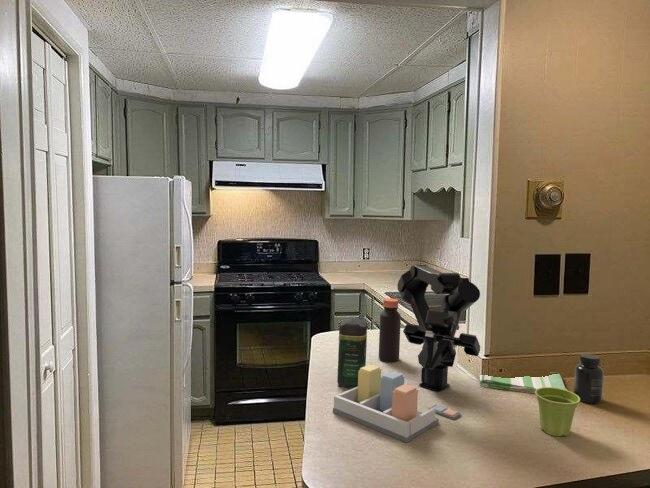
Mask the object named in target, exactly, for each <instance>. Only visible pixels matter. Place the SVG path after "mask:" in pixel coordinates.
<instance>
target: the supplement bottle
mask: <svg viewBox="0 0 650 488" xmlns="http://www.w3.org/2000/svg"><path fill="white" fill-rule="evenodd" d="M600 365H601V357H600V356H599V355H595V354H591V353H590V354H589V353H582V354H580V355H579V363H578V364H576V366H575V368H574V382H573V384H574V385H573V393H575V394H576V395H578V396H579V397H580V402H581V403H583V404H584V403H585V404H590V405H599V404H601V402H603V391H604V375H605V374H604V373H605V372H604V370H603V368H602V367H600Z"/></svg>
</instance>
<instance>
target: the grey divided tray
mask: <svg viewBox="0 0 650 488" xmlns="http://www.w3.org/2000/svg"><path fill="white" fill-rule="evenodd" d="M332 413H334V414H337V415H339V416H342V417H344V418H345V419H349V420H351V421H354V422H356V423H359V424H361V425H363V426H365V427H368V428H370V429H373V430H375V431H376V432H377V431H378V432H380V433H383V434H385V435H387V436H389V437H392V438H395V439H397V440H399V441H402V442H404V443H408V442H410V441H412V440H413V439H415V438H416V437H418V436H420V435H421V434H423V433H425V432H426V431H429V430H430V429H431V428H433V427H434V426H437V424H439V423H440V420H439V418H437V417H436V408H431V409H429V408H428V409H427V410H425V411H424V412H420V411H418V410H417V417H415V418H413V419H411V420H409V421H408V422H406V421H403V420H401V419H398V418H395V417H393V416H392V407H391V408H389V409H387V410H385V411H382V410H380V393H379V394H377V395H375V396H373V397H371V398H368V399H366V400H364V401H362V402H358V386H357V387H355V388H349V389H348V390H346V391H343V392H341V393H339V394H337V395H333V408H332ZM429 428H430V429H429Z"/></svg>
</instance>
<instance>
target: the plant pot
mask: <svg viewBox="0 0 650 488" xmlns="http://www.w3.org/2000/svg"><path fill="white" fill-rule="evenodd" d="M567 390H568V389H567ZM567 390H564V389H559V388H552V387H543V388H538V389H536V391H535V393H534V394H535V396H536V399H537V400H536V401H537V402H538V413H539V425H540V429H541V430H542V431H544V432H545V433H546V434H547V435H551V436H554V437H562V436H565V437H568V436H569V435H570V433H571V432H570V431H571V428H572V423H573V419H574V417H575V411H576V409H577V407H578V404H579V403H580V402H581V401H580V397H579V396H578V395H576V394H575V393H574V391H570V390H568V391H567Z"/></svg>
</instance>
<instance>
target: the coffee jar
mask: <svg viewBox="0 0 650 488" xmlns="http://www.w3.org/2000/svg"><path fill="white" fill-rule="evenodd" d="M338 327H339V329H338V332H339V333H338V352H337V353H338V356H337V358H338V359H337V360H338V361H337V376H336V377H337V381H336V382H337V384H338V385H339V386H341V387H345V388H347V389H353V388H355V387H357V386H358V371H359V370H360V368H362V367H365V366H367V365H366V364H367V363H366V362H367V343H368V342H367V341H368V339H367V337H368V336H367V335H368V324H367V321H365V320H363V318H359V317H347V318H346V319H343V320H342V321H341V322H340V323H339V326H338Z"/></svg>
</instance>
